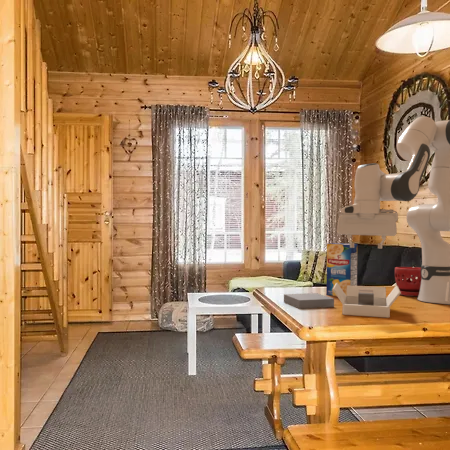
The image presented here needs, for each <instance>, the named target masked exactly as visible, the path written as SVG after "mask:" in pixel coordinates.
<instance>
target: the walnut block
mask: <svg viewBox="0 0 450 450" xmlns="http://www.w3.org/2000/svg"><path fill="white" fill-rule="evenodd" d="M358 305H372V306H374V291H373V289H359V293H358Z"/></svg>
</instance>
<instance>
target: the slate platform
mask: <svg viewBox="0 0 450 450" xmlns="http://www.w3.org/2000/svg"><path fill="white" fill-rule="evenodd" d="M283 303H285V304H287V303H288V304H287V305H290V306H292V305H293V306H292V307H294V306H295V308H297V309H299V308H300V309H316V308H317V307H321V308H334V307H335V298H333V297H330V296H328V295H324V294H320V293H318V292H309V293H307V292H306V293H287V294H286V293H284V294H283Z"/></svg>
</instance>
